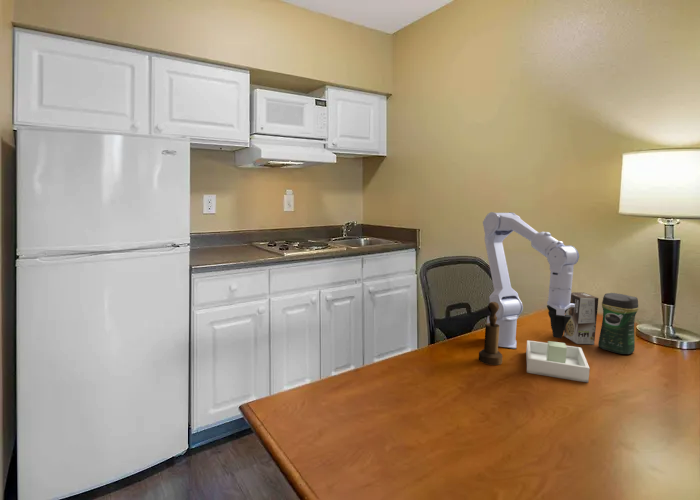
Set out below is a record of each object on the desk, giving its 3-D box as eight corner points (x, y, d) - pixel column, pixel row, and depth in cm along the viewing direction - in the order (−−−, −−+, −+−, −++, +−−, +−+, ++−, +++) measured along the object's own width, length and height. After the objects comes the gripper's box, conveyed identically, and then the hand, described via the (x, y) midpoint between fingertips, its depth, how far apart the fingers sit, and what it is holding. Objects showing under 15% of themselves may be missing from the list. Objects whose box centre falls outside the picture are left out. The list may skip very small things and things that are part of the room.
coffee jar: (638, 352, 132) (644, 296, 130) (625, 357, 128) (631, 298, 126) (606, 343, 141) (611, 290, 139) (593, 347, 137) (598, 292, 134)
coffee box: (595, 344, 139) (599, 298, 137) (576, 344, 139) (580, 297, 137) (580, 336, 148) (584, 292, 146) (562, 335, 148) (566, 291, 147)
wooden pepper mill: (498, 357, 126) (502, 299, 124) (504, 366, 119) (508, 305, 117) (476, 356, 126) (480, 299, 124) (481, 364, 120) (484, 304, 118)
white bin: (526, 372, 115) (527, 358, 114) (526, 352, 131) (527, 340, 130) (588, 382, 109) (589, 368, 109) (580, 360, 125) (581, 347, 124)
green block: (547, 365, 119) (549, 345, 118) (546, 360, 123) (547, 340, 122) (564, 368, 117) (566, 348, 116) (563, 362, 121) (564, 343, 120)
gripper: (579, 294, 110) (574, 343, 112) (573, 284, 123) (569, 328, 125) (549, 291, 113) (545, 339, 115) (547, 282, 126) (543, 325, 128)
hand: (556, 333), depth 120 cm, fingers open, 7 cm apart
